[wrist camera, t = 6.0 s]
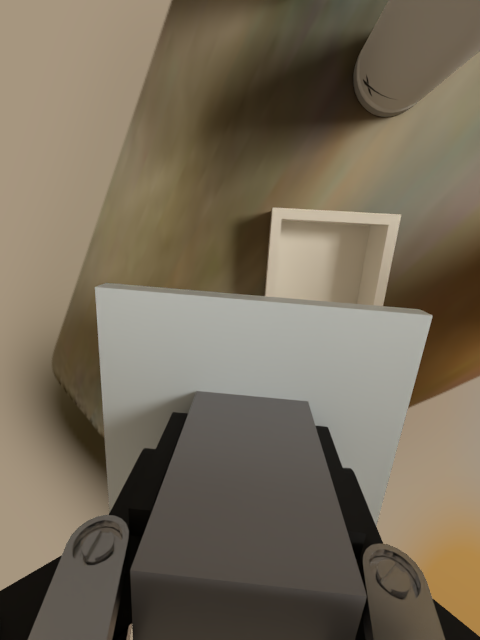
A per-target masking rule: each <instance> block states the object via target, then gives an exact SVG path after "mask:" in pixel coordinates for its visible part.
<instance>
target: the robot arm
mask: <svg viewBox="0 0 480 640" xmlns="http://www.w3.org/2000/svg"><path fill="white" fill-rule="evenodd" d="M187 416H188V413H178V412H173V413H172V415H171V417H170V419H169V421H168V423H167V425H166V428H165V430H164V432H163V434H162V436H161V439H160V441H159V443H158V445H157V447H156V449H150V448H144V449H143V450H142V452H141V453H140V455H139V457H138V459H137V461H136V463H135V465H134V467H133V469H132V471H131V473H130V475H129V476H128V478H127V480H126V482H125V484H124V486H123V488H122V490H121V492H120V494H119V496H118V498H117V500H116V502H115V504H114V505H113V507H112V509H111V511H110V513H109V515H103V516H98V517H95V518H93V519H91V520H88V521H87V522H85V523H84V524H83V525H81V526H80V527H79V528H78V529H77V530H76V531H75V532H74V533H73V534H72V535H71V537H70V539H69V541H68V542H67V544H66V547H65V549H64V552H63V554H62V556H60V557H58V558H57V559H55V560H53V561H51V562H50V563H48V564H46V565H44V566H43V567H41V568H39V569H37V570H36V571H34V572H32V573H31V574H29V575H27V576H25V577H24V578H22V579H20V580H18V581H17V582H15V583H13V584H12V585H10V586H8V587H6V588H5V589H3V590H1V591H0V640H130V634H131V628H132V602H131V578H130V569H131V567H132V564H133V561H134V558H135V556H136V553H137V550H138V548H139V545H140V542H141V540H142V537H143V534H144V532H145V529H146V526H147V523H148V521H149V518H150V515H151V513H152V510H153V507H154V505H155V502H156V499H157V496H158V494H159V491H160V488H161V486H162V483H163V480H164V478H165V475H166V472H167V470H168V467H169V464H170V461H171V459H172V456H173V453H174V451H175V448H176V445H177V443H178V440H179V437H180V434H181V432H182V429H183V426H184V424H185V421H186V418H187ZM316 429H317V433H318V436H319V439H320V443H321V446H322V449H323V453H324V456H325V459H326V463H327V466H328V469H329V472H330V476H331V479H332V482H333V486H334V489H335V492H336V496H337V499H338V502H339V505H340V509H341V512H342V515H343V519H344V522H345V525H346V529H347V532H348V535H349V538H350V542H351V545H352V548H353V552H354V555H355V558H356V562H357V565H358V568H359V572H360V575H361V578H362V581H363V585H364V588H365V591H366V595H367V598H366V602H365V605H364V609H363V612H362V616H361V620H360V623H359V627H358V630H357V634H356V637H355V640H480V637H479V636H478V635H477V634H476V633H474V632H473V631H472V630H471V629H469V628H468V627H467V626H466V625H464V624H463V623H462V622H461V621H459V620H458V619H457V618H456V617H455V616H453V615H452V614H451V613H450V612H448V611H447V610H446V609H445V608H444V607H442V606H441V605H440V604H438V603H437V602H436V601H435V600H434V599H432V596H431V593H430V590H429V587H428V584H427V581H426V579H425V577H424V575H423V573H422V571H421V570H420V569H419V567H418V566H417V564H416V563H415V562H414V561H413V560H412V559H411V558H410V557H409V556H408V555H407V554H405V553H404V552H402V551H400V550H399V549H397V548H395V547H393V546H390V545H387V544H383V542H382V540H381V537H380V535H379V532H378V530H377V527H376V525H375V522H374V520H373V518H372V515H371V513H370V510H369V508H368V505H367V503H366V500H365V498H364V495H363V493H362V490H361V488H360V485H359V483H358V480H357V478H356V476H355V473H354V471H353V470H352V469H351V468H343V467H342V464H341V462H340V459H339V456H338V453H337V451H336V448H335V445H334V442H333V440H332V437H331V434H330V431H329V429H328V427H325V426H316Z"/></svg>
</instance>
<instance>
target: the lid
mask: <svg viewBox="0 0 480 640" xmlns="http://www.w3.org/2000/svg"><path fill="white" fill-rule="evenodd" d="M95 295H96V311H97V326H98V342H99V357H100V373H101V389H102V404H103V420H104V435H105V450H106V466H107V482H108V496H109V497H108V498H109V513H110V511H111V509H112V507H113V505H114V504H115V502H116V500H117V498H118V496H119V494H120V492H121V490H122V488H123V486H124V484H125V482H126V480H127V478H128V476H129V475H130V473H131V471H132V469H133V467H134V465H135V463H136V461H137V459H138V457H139V455H140V453H141V452H142V450H143V449H144V448H150V449H156V447H157V445H158V443H159V441H160V439H161V436H162V434H163V432H164V430H165V428H166V425H167V423H168V421H169V419H170V417H171V415H172V413H173V412H178V413H188V416H187V418H186V421H185V424H184V426H183V429H182V432H181V434H180V437H179V440H178V443H177V445H176V448H175V451H174V453H173V456H172V459H171V461H170V464H169V467H168V470H167V472H166V475H165V478H164V480H163V483H162V486H161V488H160V491H159V494H158V496H157V499H156V502H155V505H154V507H153V510H152V513H151V515H150V518H149V521H148V523H147V526H146V529H145V532H144V534H143V537H142V540H141V542H140V545H139V548H138V550H137V553H136V556H135V558H134V561H133V564H132V567H131V569H130V578H131V602H132V626H133V640H355V637H356V634H357V630H358V627H359V623H360V620H361V616H362V612H363V609H364V605H365V602H366V598H367V595H366V591H365V588H364V585H363V581H362V578H361V575H360V572H359V568H358V565H357V562H356V558H355V555H354V552H353V548H352V545H351V542H350V538H349V535H348V532H347V529H346V525H345V522H344V519H343V515H342V512H341V509H340V505H339V502H338V499H337V496H336V492H335V489H334V486H333V482H332V479H331V476H330V472H329V469H328V466H327V463H326V459H325V456H324V453H323V449H322V446H321V443H320V439H319V436H318V433H317V429H316V426H325V427H328V429H329V431H330V434H331V437H332V440H333V442H334V445H335V448H336V451H337V453H338V456H339V459H340V462H341V464H342V467H343V468H351V469H352V470H353V471H354V473H355V476H356V478H357V480H358V483H359V485H360V488H361V490H362V493H363V495H364V498H365V500H366V503H367V505H368V508H369V510H370V513H371V515H372V518H373V520H374V522H375V525H377V522H378V518H379V514H380V510H381V507H382V503H383V499H384V496H385V492H386V488H387V484H388V481H389V477H390V473H391V470H392V466H393V461H394V458H395V455H396V451H397V447H398V443H399V439H400V436H401V432H402V429H403V425H404V421H405V417H406V413H407V410H408V406H409V402H410V399H411V395H412V391H413V388H414V384H415V380H416V376H417V373H418V369H419V365H420V361H421V358H422V354H423V350H424V347H425V343H426V339H427V335H428V332H429V328H430V324H431V320H432V317H433V315H431V314H429V313H427V312H425V311H422V310H420V309H411V308H399V307H387V306H375V305H363V304H351V303H339V302H327V301H316V300H304V299H292V298H280V297H268V296H256V295H244V294H232V293H220V292H208V291H196V290H184V289H172V288H161V287H149V286H137V285H125V284H113V283H105V284H102V285H99V286H96V287H95Z"/></svg>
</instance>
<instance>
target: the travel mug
mask: <svg viewBox="0 0 480 640" xmlns="http://www.w3.org/2000/svg"><path fill="white" fill-rule="evenodd" d="M479 51H480V0H389V1H388V3H387V4H386V6H385V8H384V10H383V12H382V14H381V15H380V17H379V19H378V21H377V23H376V25H375V26H374V28H373V30H372V32H371V34H370V36H369V37H368V39H367V41H366V43H365V45H364V46H363V48H362V50H361V52H360V54H359V56H358V58H357V61H356V64H355V68H354V74H353V85H354V90H355V94H356V96H357V98H358V100H359V102H360V103H361V105H362V106H363V107H364V108H365V109H366V110H367V111H369V112H370V113H372V114H374V115H378V116H382V117H390V116H396V115H398V114H401V113H403V112H405V111H407V110H408V109H410V108H411V107H412V106H414V105H415V104H416V103H417V102H418V101H420V100H421V99H422V98H423V97H425V96H426V95H427V94H428V93H429V92H431V91H432V90H433V89H434V88H435V87H437V86H438V85H439V84H440V83H442V82H443V81H444V80H445V79H446V78H448V77H449V76H450V75H451V74H452V73H454V72H455V71H456V70H457V69H459V68H460V67H461V66H462V65H463V64H465V63H466V62H467V61H468V60H469V59H471V58H472V57H473V56H474V55H476V54H477V53H478V52H479Z"/></svg>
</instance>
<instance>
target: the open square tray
mask: <svg viewBox="0 0 480 640" xmlns="http://www.w3.org/2000/svg"><path fill="white" fill-rule="evenodd" d="M400 219H401V215H399V214H381V213H363V212H344V211H326V210H308V209H289V208H272V210H271V220H270V232H269V245H268V257H267V269H266V282H265V294H264V296H268V297H280V298H292V299H304V300H316V301H327V302H339V303H351V304H363V305H375V306H383V304H384V299H385V294H386V289H387V284H388V279H389V274H390V269H391V264H392V259H393V254H394V249H395V244H396V239H397V234H398V229H399V224H400Z"/></svg>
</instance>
